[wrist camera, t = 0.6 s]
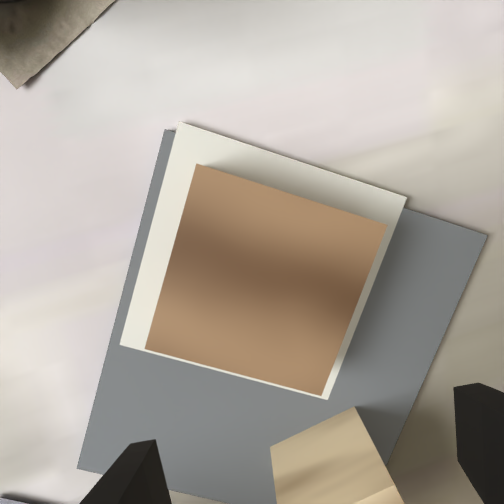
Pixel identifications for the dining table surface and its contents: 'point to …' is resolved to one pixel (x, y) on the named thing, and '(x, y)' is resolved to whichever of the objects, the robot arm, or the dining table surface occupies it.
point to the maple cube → (332, 465)
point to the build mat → (254, 390)
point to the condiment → (40, 32)
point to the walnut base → (262, 281)
